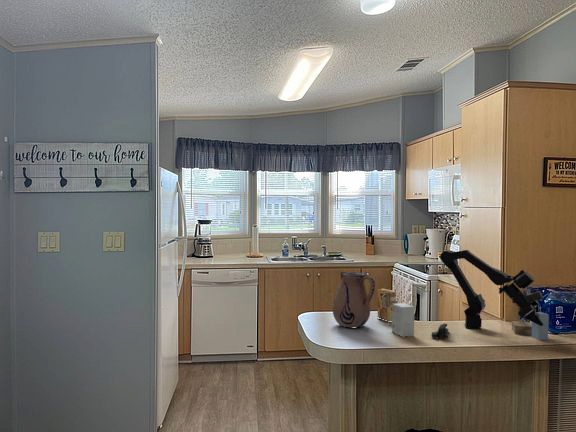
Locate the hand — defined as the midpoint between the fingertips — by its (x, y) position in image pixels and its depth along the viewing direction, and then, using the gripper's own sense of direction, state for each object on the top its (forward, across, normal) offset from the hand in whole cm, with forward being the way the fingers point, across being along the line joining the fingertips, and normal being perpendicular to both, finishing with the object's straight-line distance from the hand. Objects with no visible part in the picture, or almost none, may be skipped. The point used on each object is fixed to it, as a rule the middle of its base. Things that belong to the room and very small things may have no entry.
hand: (543, 323), depth 195 cm
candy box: (-42, -15, +52) cm, 69 cm away
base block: (-1, +7, +11) cm, 13 cm away
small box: (-31, -33, +40) cm, 61 cm away
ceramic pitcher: (-47, -36, +56) cm, 82 cm away
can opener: (-21, -23, +31) cm, 44 cm away
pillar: (+4, 0, +6) cm, 7 cm away
